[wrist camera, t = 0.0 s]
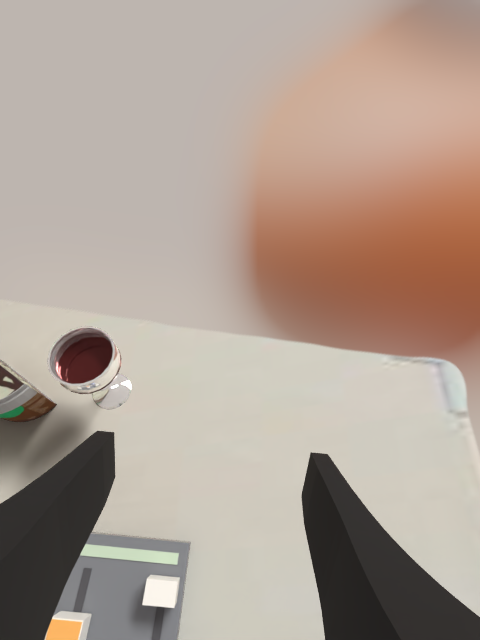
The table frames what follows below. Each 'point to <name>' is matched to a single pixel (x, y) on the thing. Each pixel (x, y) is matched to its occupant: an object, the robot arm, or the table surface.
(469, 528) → the table surface
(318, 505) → the robot arm
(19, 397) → the food container
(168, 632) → the panel
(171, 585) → the block
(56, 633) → the block
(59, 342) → the wineglass
